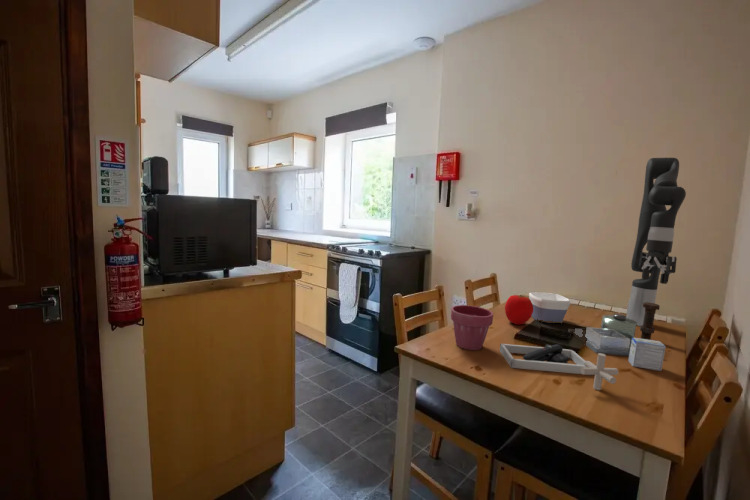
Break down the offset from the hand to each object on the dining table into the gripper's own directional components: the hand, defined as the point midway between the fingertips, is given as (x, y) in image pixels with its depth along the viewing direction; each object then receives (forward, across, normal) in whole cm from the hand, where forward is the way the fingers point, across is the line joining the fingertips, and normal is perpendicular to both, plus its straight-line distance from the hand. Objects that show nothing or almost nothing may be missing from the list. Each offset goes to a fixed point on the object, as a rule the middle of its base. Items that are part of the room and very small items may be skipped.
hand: (653, 281), depth 134 cm
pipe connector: (+26, -38, +44) cm, 64 cm away
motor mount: (+25, -3, +16) cm, 29 cm away
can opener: (+26, -23, +52) cm, 63 cm away
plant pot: (+26, -11, +73) cm, 78 cm away
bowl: (+24, +24, +27) cm, 43 cm away
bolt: (+25, +3, -3) cm, 25 cm away
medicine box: (+26, -22, +18) cm, 38 cm away
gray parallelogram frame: (+26, -22, +52) cm, 62 cm away
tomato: (+25, +16, +44) cm, 53 cm away
